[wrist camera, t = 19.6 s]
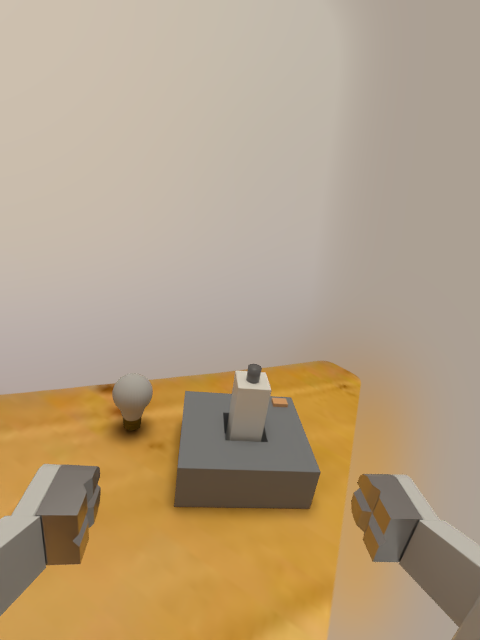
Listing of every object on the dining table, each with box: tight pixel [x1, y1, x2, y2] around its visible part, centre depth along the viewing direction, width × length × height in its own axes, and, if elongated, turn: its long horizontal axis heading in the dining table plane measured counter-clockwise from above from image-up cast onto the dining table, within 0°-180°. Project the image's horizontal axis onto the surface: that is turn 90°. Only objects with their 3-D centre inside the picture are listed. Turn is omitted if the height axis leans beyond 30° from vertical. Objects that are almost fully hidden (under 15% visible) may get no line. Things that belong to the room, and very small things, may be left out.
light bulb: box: [113, 373, 153, 431], centre depth 52 cm, size 6×6×10 cm
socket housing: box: [174, 391, 320, 509], centre depth 50 cm, size 18×16×7 cm
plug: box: [225, 364, 271, 442], centre depth 47 cm, size 4×4×14 cm
